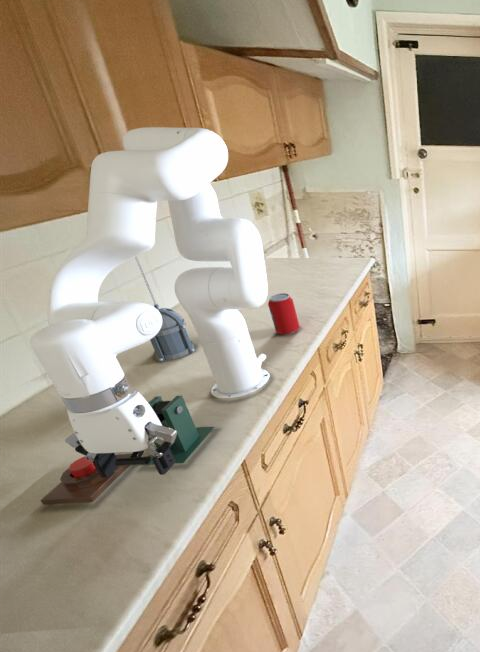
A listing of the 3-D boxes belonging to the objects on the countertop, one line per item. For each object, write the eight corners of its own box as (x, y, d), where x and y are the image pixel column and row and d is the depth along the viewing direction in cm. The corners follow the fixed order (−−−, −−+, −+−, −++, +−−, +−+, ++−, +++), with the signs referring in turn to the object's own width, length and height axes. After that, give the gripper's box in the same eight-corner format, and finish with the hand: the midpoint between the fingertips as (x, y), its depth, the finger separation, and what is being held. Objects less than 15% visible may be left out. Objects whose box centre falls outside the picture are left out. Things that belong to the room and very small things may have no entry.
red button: (85, 462, 73) (81, 455, 73) (106, 461, 74) (102, 454, 73) (67, 478, 70) (62, 471, 69) (88, 477, 70) (84, 470, 70)
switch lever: (150, 466, 71) (141, 461, 69) (120, 468, 70) (111, 462, 69) (184, 406, 79) (177, 400, 77) (158, 407, 79) (150, 401, 77)
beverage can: (285, 325, 130) (276, 291, 125) (304, 326, 129) (296, 293, 124) (271, 335, 124) (261, 300, 119) (291, 336, 123) (281, 302, 118)
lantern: (206, 342, 120) (170, 246, 107) (181, 362, 110) (138, 259, 97) (170, 342, 119) (130, 247, 107) (141, 362, 110) (93, 259, 97)
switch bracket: (186, 467, 77) (163, 419, 72) (142, 469, 77) (117, 421, 72) (216, 430, 86) (199, 386, 81) (178, 432, 86) (157, 387, 81)
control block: (96, 463, 78) (87, 448, 76) (139, 461, 78) (131, 446, 77) (46, 509, 69) (34, 492, 67) (95, 506, 69) (85, 490, 68)
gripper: (171, 377, 68) (203, 451, 76) (63, 381, 67) (106, 456, 74) (136, 406, 61) (176, 484, 69) (16, 411, 60) (69, 490, 68)
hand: (140, 469), depth 72 cm, fingers open, 9 cm apart
